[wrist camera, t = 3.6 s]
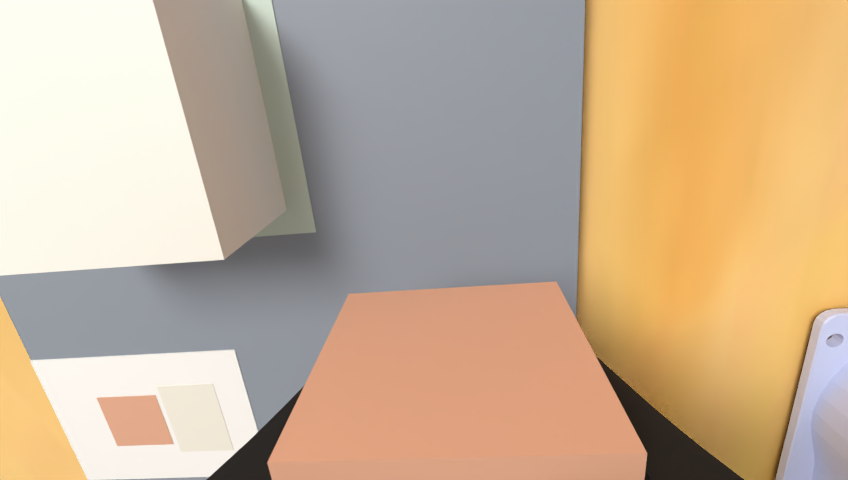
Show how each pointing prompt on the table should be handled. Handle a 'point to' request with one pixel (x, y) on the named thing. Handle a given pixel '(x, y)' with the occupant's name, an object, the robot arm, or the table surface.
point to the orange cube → (458, 393)
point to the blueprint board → (327, 222)
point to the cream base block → (130, 134)
